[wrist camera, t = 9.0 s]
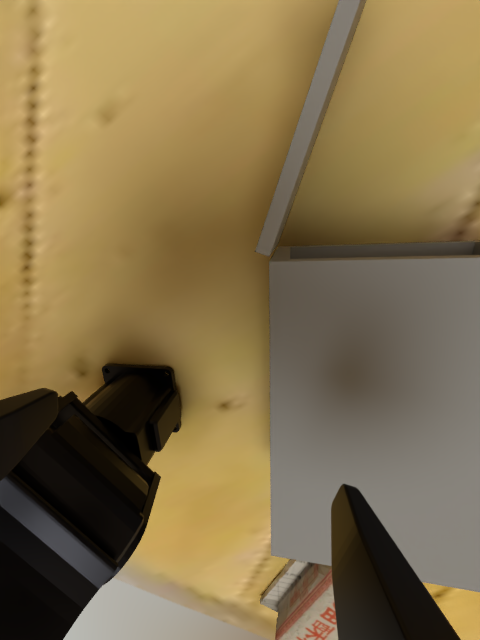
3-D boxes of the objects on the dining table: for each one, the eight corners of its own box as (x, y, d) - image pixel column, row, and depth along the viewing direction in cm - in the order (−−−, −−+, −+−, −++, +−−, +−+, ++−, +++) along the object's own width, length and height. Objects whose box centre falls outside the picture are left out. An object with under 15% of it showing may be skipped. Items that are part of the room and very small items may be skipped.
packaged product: (346, 695, 27) (255, 650, 27) (338, 628, 32) (260, 590, 32) (469, 613, 20) (346, 555, 21) (437, 543, 25) (336, 496, 25)
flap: (278, 243, 18) (257, 273, 7) (263, 238, 18) (221, 260, 7) (364, 5, 13) (655, -870, 3) (344, 0, 14) (552, -879, 3)
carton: (277, 453, 24) (271, 555, 17) (278, 246, 18) (269, 261, 11) (427, 469, 22) (496, 595, 14) (481, 240, 16) (644, 254, 9)
